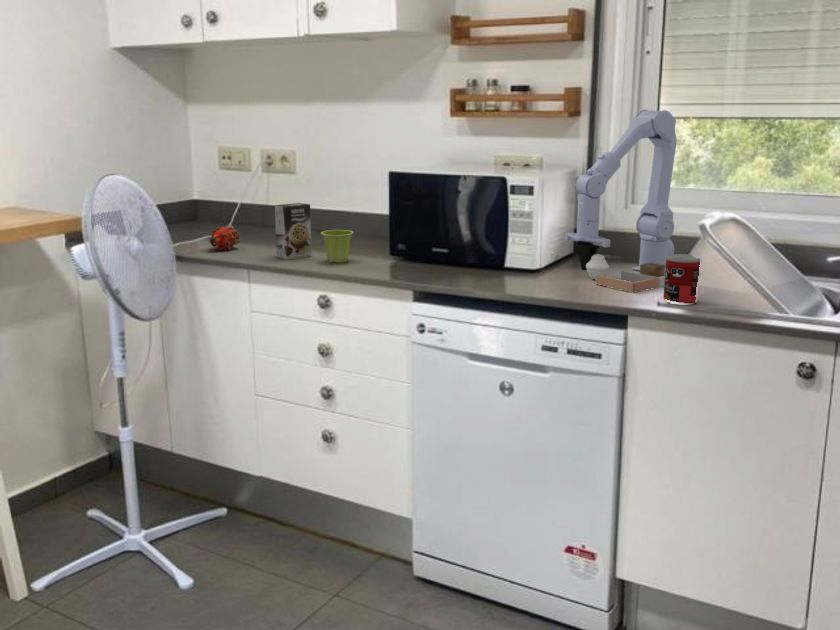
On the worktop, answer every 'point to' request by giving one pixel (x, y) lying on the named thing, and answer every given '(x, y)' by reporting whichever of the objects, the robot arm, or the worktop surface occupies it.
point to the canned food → (681, 278)
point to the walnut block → (652, 269)
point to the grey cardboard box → (293, 230)
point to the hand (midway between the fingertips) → (585, 269)
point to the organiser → (632, 281)
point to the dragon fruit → (224, 238)
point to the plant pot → (337, 244)
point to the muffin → (597, 266)
